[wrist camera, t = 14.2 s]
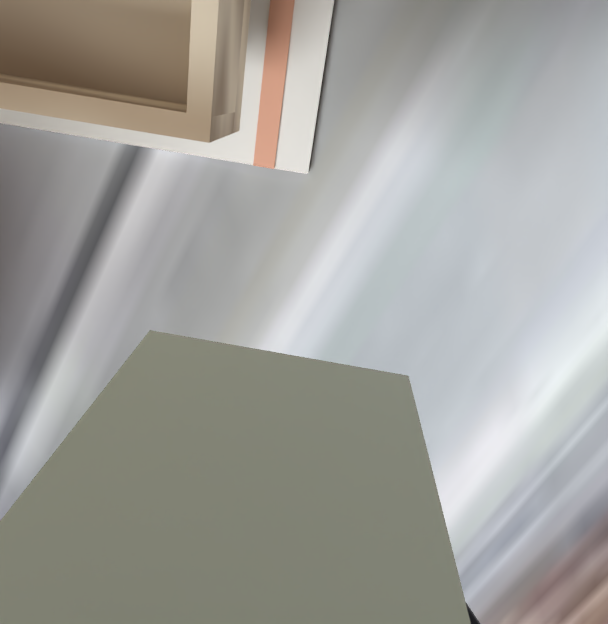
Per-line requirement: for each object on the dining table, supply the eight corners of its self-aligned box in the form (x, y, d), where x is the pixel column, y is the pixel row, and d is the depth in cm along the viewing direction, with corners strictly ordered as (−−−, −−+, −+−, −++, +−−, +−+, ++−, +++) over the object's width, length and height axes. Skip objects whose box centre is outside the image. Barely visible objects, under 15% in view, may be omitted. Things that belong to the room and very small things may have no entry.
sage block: (354, 556, 11) (376, 1139, 5) (142, 520, 11) (-105, 1064, 5) (408, 375, 9) (559, 974, 3) (149, 330, 9) (-253, 843, 3)
